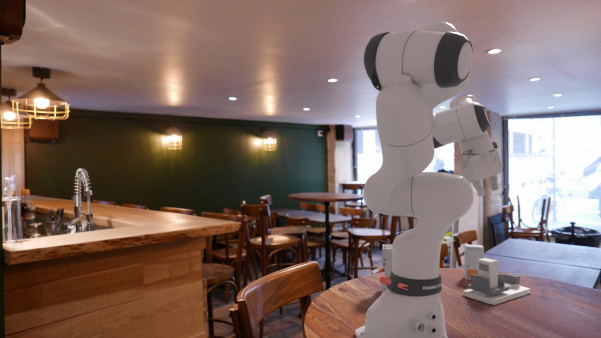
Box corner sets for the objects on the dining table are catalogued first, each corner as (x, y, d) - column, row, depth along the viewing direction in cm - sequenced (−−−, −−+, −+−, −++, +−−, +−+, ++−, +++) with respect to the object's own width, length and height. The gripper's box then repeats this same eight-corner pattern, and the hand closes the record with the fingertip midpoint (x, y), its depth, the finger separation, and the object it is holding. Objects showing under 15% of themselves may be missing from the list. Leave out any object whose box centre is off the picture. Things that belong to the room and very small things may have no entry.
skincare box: (465, 279, 136) (465, 246, 136) (464, 276, 140) (464, 243, 140) (484, 281, 134) (484, 247, 134) (482, 278, 138) (482, 244, 138)
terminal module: (489, 288, 115) (489, 262, 115) (477, 285, 119) (477, 259, 118) (497, 286, 117) (497, 260, 117) (485, 283, 121) (485, 257, 121)
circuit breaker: (430, 300, 115) (430, 250, 115) (382, 297, 118) (382, 248, 118) (427, 292, 122) (427, 245, 122) (381, 289, 125) (381, 244, 125)
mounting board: (493, 305, 111) (493, 300, 111) (463, 295, 120) (463, 290, 120) (530, 293, 122) (530, 288, 122) (499, 284, 130) (499, 280, 130)
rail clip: (490, 299, 112) (490, 280, 112) (466, 291, 119) (466, 273, 119) (527, 287, 123) (527, 270, 122) (502, 281, 129) (502, 265, 129)
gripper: (471, 149, 107) (485, 197, 106) (499, 142, 120) (512, 185, 119) (450, 155, 111) (463, 201, 110) (479, 148, 125) (492, 189, 124)
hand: (489, 192), depth 115 cm, fingers open, 8 cm apart
